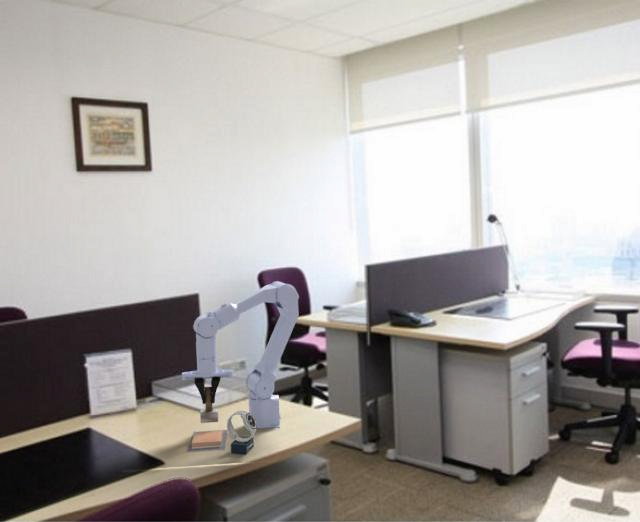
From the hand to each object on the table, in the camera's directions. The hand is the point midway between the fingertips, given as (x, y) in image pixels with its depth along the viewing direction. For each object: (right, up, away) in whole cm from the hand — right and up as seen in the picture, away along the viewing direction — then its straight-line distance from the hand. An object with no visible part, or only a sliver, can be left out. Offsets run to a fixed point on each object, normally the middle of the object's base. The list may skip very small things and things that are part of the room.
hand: (208, 402), depth 179 cm
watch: (+12, -11, -13) cm, 20 cm away
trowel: (0, -5, 0) cm, 6 cm away
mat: (+1, -10, -6) cm, 11 cm away
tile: (+1, -8, -3) cm, 9 cm away
